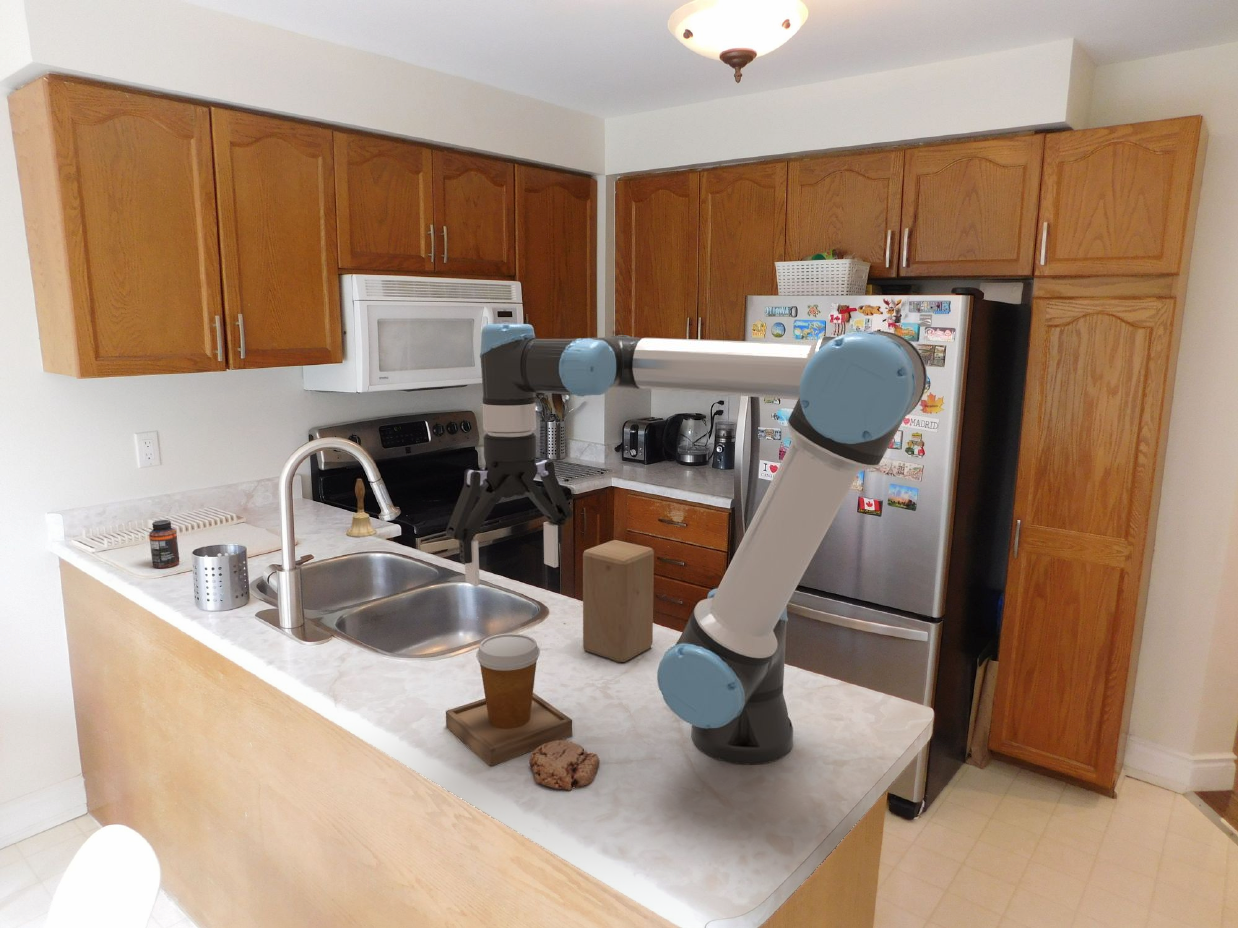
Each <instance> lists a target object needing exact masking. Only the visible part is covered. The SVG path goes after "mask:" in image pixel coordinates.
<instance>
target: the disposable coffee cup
mask: <svg viewBox="0 0 1238 928" xmlns="http://www.w3.org/2000/svg"><path fill="white" fill-rule="evenodd" d="M475 654H476V655H475V657H476V659H477V661H478V663H479V667H480V674H481V678H482V679H481V680H482V685H483V690H484V697H485V698H484V699H486V705H487V711H488V718H489V722H490V723H491V724H492V725H493V726H496V727H499V728H515V727H519V726H522V725H524V724H526V723H527V722H528V721H529V719H530V713H531V705H532V696H533V693H534V688H535V687H534V686H535V678H536V677H535V676H536V669H537V661H538V659H539V656H540V655H541V649H540V647H538V644H537V641H536V639H535V638H533V637H531V636H529V635H527V634H521V633H500V634H496V635H492V636H489V637H487V638H485V639H483V640H482V641H481V642H480V643H479V646H478V649H477V651H476V652H475Z"/></svg>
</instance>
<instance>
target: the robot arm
mask: <svg viewBox="0 0 1238 928" xmlns="http://www.w3.org/2000/svg"><path fill="white" fill-rule="evenodd" d="M480 336H481V337H480V354H479V358H480V368H481V369H480V370H481V371H480V372H481V382H482V383H481V384H482V425H483V426H482V427H483V430H484V431H485V432H487V433H485V434H484V436H483V458H484V462H485V465H484V469H483V470H473V469H470V468H468V469H465V471H464V477H463V479H464V480H463V481H464V482H463V486H462V489H461V491H460V494H459V497H458V499H457V502H456V504H455V506H454V510H453V511H452V515H451V517H450V519H449V521H448V523H447V527H446V529H445V535H446V536H447V537H450V538H451V539H454V540H456V541H458V543H459V544H458V548H459V560H460V561H461V562H462V563H463V564H464V568H465V570H464V571H465V572H464V573H465V582H466V583H468V584H469V585H472V586H473V587H478V586H480V560H479V559H480V556H479V541H478V540H477V539H474V538H475V536H476V535H477V534H478V532H479V530H480V528H481V527H482V526H483V524H485V523H484V522H485V521H486V519H487V518H488V516H489V515H490V513H491V512H492V510H493V508H495V506H496V504H498V503H499V502H500V501H501V499H502V498H503V499H509V498H512V497H514V496H519V497H522V496H524V495H526V496H527V497H528V498H529V499H530V501H531V502H532V503H533V504H534V505H535V506H536V508H538V510H539V511H540V512H541V513H542V514H543V516H545V518H546V519H547V520H548V521H546V522H543V558H544V559H543V563H544V564H545V565H547V566H550V567H552V568H554V569H555V568H557V567H559V544H561V543H562V539H563V538H562V536H563V535H562V526H564V525H565V524H566V523H567V519H571V518H572V517H573V511H572V508H571V506H570V504H569V502H568V499H567V498H566V495H565V493H564V491H563V488H562V487H561V485H560V483H559V480H558V478H557V476H556V470H555V463H554V462H553V461H550V460H547V459H544V458H542V459H541V458H540V460H539V461H538V462H536V460H535V459H536V457H537V435H535V432H533V431H535V430H536V429H537V415H536V413H537V412H536V394H537V393H538V394H540V393H545V394H547V393H548V394H561V395H571V396H572V395H573V396H575V395H576V396H577V397H585V396H601V395H605V394H606V393H607V392H609V390H610V388H613V389H614V388H620V389H621V388H622V389H638V390H639V389H640V390H643V389H644V390H656V391H670V392H682V393H683V392H684V393H685V392H686V393H696V394H697V393H698V394H699V393H700V394H711V395H723V396H724V395H725V396H738V397H750V398H751V397H753V398H767V399H777V400H778V399H782V400H791V401H793V400H795V401H796V403H795V404H794V407H793V409H792V411H791V413H790V415H789V416H788V419H787V422H786V423H787V427H788V430H789V433H790V435H791V442H790V444H789V446H788V448H787V450H786V452H785V454H784V456H783V458H782V459H781V462H780V464H779V465H778V468H777V469H776V472H775V473H774V476H773V478H772V480H771V482H770V484H769V486H768V487H767V490H766V492H765V494H764V496H763V498H762V500H761V501H760V503H759V505H758V508H757V509H756V511H755V514H754V516H753V518H752V519H751V522H750V524H749V525H748V528H747V529H746V531H745V534H743V537H742V539H741V541H740V543H739V546H738V548H737V550H736V551H735V553H734V555H733V557H732V559H731V561H730V564H729V566H728V567H727V569H726V571H725V574H724V575H723V577H722V580H721V581H720V584H719V585H718V587H716V588H713V589H711V590H710V591H709V592H708V593H707V598H705V599H702V600H700V601H699V602H697V604H696V605H695V607H694V609H693V611H692V612H691V614H690V617H689V618H688V620H687V622H686V625H685V627H684V628H683V631H682V632H681V635H680V636H679V639H678V640H677V641H676V643H675V644H674V645H673V646H671V647H670V648H668V650H666V651H665V653H664V654H663V657H662V658H661V660H660V662H659V665H658V668H657V672H656V673H657V677H656V679H657V680H656V681H657V686H658V689H659V691H660V693H661V695H662V699H663V701H664V702H665V704H666V706H667V707H668V708H669V710H670V711H672V713H674V715H676V716H677V717H678V718H679V719H681V721H684V722H685V723H687V724H689V725H690V726H691V739H692V742H693V743H694V744H695V746H696V747H697V748H698V749H699V750H701V751H702V752H704V753H705V754H706V755H708V756H710V757H713V758H715V759H718V760H720V761H724V762H728V763H732V764H738V765H739V764H740V765H760V764H766V763H771V762H775V761H778V760H780V759H781V758H783V757H785V756H786V755H787V754H789V752H790V751H791V749H792V747H793V744H794V743H793V742H794V741H793V740H794V727H793V723H792V720H791V718H790V717H789V711H788V707H787V702H786V699H785V696H784V680H785V662H786V661H785V660H786V639H787V624H788V621H789V618H788V615H787V614H788V613H787V612H788V607H787V605H788V603H789V602H790V600H791V598H792V597H793V594H794V592H796V588H797V587H798V586H799V583H800V581H801V580H802V579H803V576H804V574H805V572H806V571H807V568H808V567H809V564H810V563H811V561H812V560H813V558H814V556H815V554H816V552H817V550H818V549H819V547H820V545H821V543H822V541H823V539H824V538H825V536H826V534H827V533H828V530H829V528H830V526H831V525H832V523H833V521H834V519H835V517H836V515H837V513H838V512H839V511H840V509H841V507H842V505H843V503H844V501H845V498H846V497H847V495H848V493H849V491H850V490H851V488H852V486H853V484H854V482H855V481H856V478H857V477H858V475H859V474H860V473H861V472H863V471H867V470H871V469H874V468H877V467H878V466H880V463H881V461H882V459H883V458H884V456H885V454H886V453H887V451H888V448H889V447H890V445H891V443H892V441H893V439H895V436H896V434H897V433H898V431H899V429H900V427H901V426H902V423H903V422H904V420H905V418H906V417H907V416H909V415H910V414H911V413H912V412H913V410H914V409H916V407H917V406H918V405H919V404H920V402H921V400H922V399H923V396H924V394H925V390H926V387H927V382H928V373H927V367H926V363H925V360H924V357H923V356H922V354H921V353H920V350H919V349H918V348H917V347H916V346H915V345H914V344H913V343H912V342H911V341H910V340H909V339H907V338H905V337H903V336H902V335H900V334H896V333H894V332H892V331H883V330H880V331H879V330H875V331H874V330H873V331H865V330H864V331H852V332H848V333H844V334H841V335H840V336H825V335H824V336H821V337H820V338H819V339H818V340H817V341H815V343H804V342H803V343H801V342H777V341H776V342H773V341H750V340H749V341H747V340H722V339H719V340H717V339H693V338H692V339H691V338H690V339H689V338H687V339H686V338H662V337H661V338H660V337H636V336H634V337H633V336H629V335H621V334H620V335H610V336H603V337H584V338H583V337H581V338H580V337H579V338H538V337H536V334H535V329H534V327H533V325H532V324H528V323H489V324H488V323H487V324H486V325H485V326H483V327H482V329H481V335H480ZM537 475H539V477H540V479H541V481H542V483H543V486H544V488H545V490H546V492H547V494H548V497H549V498H550V500H551V502H552V503H551V502H550V501H549V499H548V498H547V496H545V495H544V494H543V492H542V491H541V488H540V487H539V486H538V485H537V483H535V482H534V479H535V477H536V476H537ZM484 481H485V482H486V483H487V484H486V486H485V487H484V488H483V489H482V491H481V494H480V495H481V496H480V498H479V499H478V501H477V503H476V504H475V502H476V500H477V498H478V495H479V491H480V488H481V486H483V484H484Z"/></svg>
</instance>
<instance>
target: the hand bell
mask: <svg viewBox="0 0 1238 928" xmlns="http://www.w3.org/2000/svg"><path fill="white" fill-rule="evenodd" d="M354 491H355V492H354V493H355V497H356V500H357V512H356V513H355V514H353V515H352V522H351V526H350V528H349V529H348V530H347V531H346V533H345V534H346V536H348V537H353V538H354V537H355V538H364V537H371V536H374V535H376V534H377V532H378V531H377V530H376V529H375V528H374V526H373V525H372V522H371V519H370V514H369V513H366V512H365V507H364V498H365V493H366V489H365V485H364V481H363V479H362V478H357V479H356V482H355V487H354Z"/></svg>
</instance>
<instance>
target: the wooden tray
mask: <svg viewBox="0 0 1238 928" xmlns="http://www.w3.org/2000/svg"><path fill="white" fill-rule="evenodd" d="M445 727H446V729H448V730H450V732H451V733H453V735H455V736H456V737H457V738H458V739H460V740H461V741H462V743H464V744H465V745H466V746H467V747H468V748H469V749H470V750H472V751H473V752H474V753H475V754H476V755H477V756H479V758H480V759H481V760H483V761H484V762H485V763H486V764H487V765H488V766H490V767H492V766H495V765H498V764H500V763H503V762H507V761H508V760H509V761H510V760H511V759H514V758H517V757H519V756H522V755H525V754H527V753H529V752H532V751H533V752H534V750H535V749H536V748H538V747H539V746H541V745H543V744H545V743H546V744H547V743H549V742H552V741H556V740H560V741H562V740H564V739H568V738H569V737H573V719H572V718H571V717H569V716H568V715H566V714H565V713H563V712H562V711H560V710H559V709H558V708H556V707H554V706H553V705H552V704H550V702H548V701H546V700H545V699H543V698H542V697H541V696H539V695H538V694H536V693H535V692H533V696H532V705H531V713H530V719H529V721H528V722H527V723H526V724H524V725H522V726H519V727H515V728H499V727H496V726H493V725H492V724H491V723H490V722H489V718H488V711H487V705H486V699H485V698H481V699H479V700H476V701H473V702H469V703H466V704H463V705H460V706H456V707H453V708H451V709H448V710H447V709H446V710H445Z"/></svg>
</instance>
